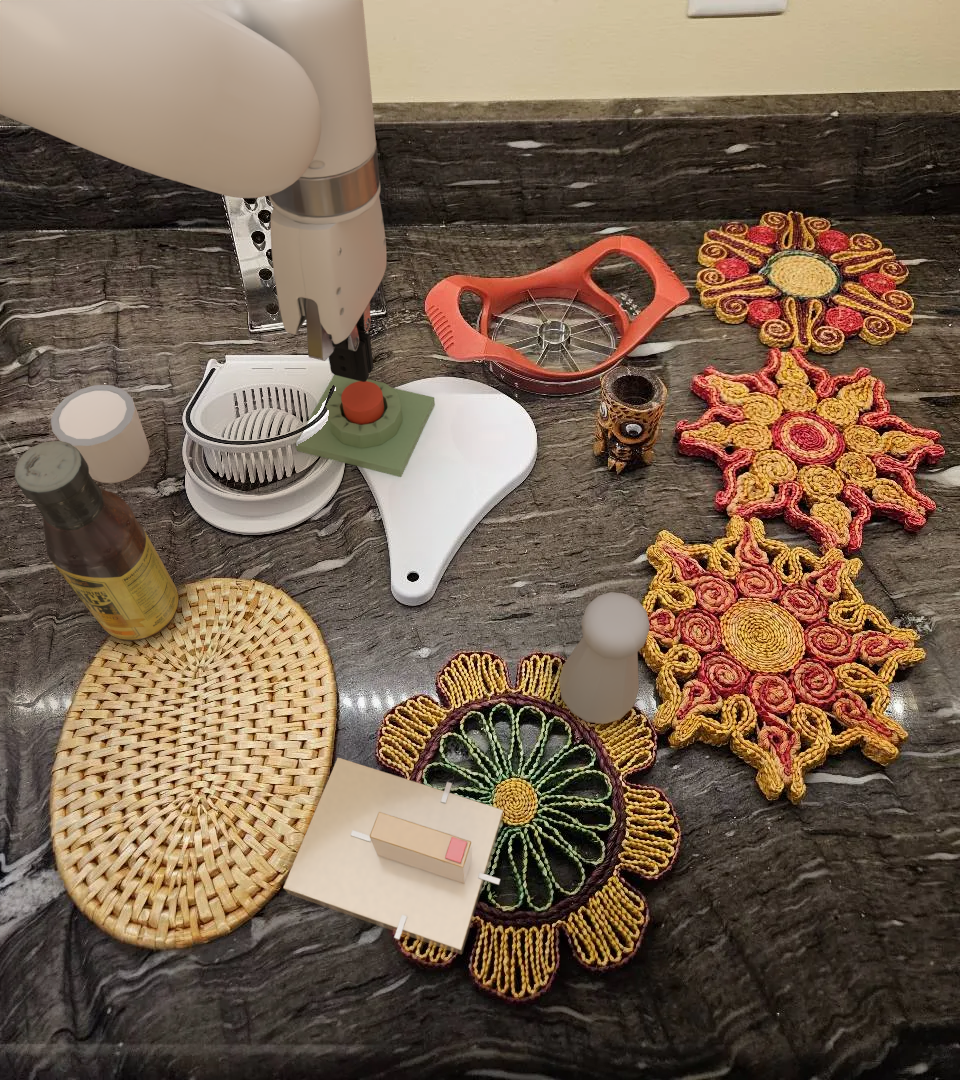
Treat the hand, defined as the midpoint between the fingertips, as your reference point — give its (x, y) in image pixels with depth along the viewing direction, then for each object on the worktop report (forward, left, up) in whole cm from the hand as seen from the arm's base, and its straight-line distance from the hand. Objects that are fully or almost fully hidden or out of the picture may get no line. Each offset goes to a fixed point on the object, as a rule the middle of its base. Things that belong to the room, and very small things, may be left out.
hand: (352, 371), depth 72 cm
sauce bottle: (-10, -23, -9) cm, 26 cm away
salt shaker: (+26, -19, -9) cm, 33 cm away
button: (0, 0, -5) cm, 5 cm away
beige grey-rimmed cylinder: (-20, -10, -9) cm, 24 cm away
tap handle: (+18, -34, -6) cm, 39 cm away
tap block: (+16, -34, -9) cm, 39 cm away
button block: (0, 0, -9) cm, 9 cm away
